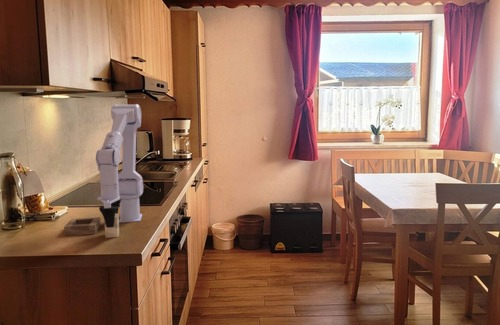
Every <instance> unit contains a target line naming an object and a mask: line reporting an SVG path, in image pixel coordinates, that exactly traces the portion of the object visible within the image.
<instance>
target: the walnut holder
mask: <svg viewBox="0 0 500 325" xmlns="http://www.w3.org/2000/svg"><path fill="white" fill-rule="evenodd" d="M101 223H102V222H101V216H99V217H96V216H95V217H84V218H83V217H81V218H80V217H79V218H71V219H69V220H68V222H67V223H66V224H65V225H64V227H63V228H64V236H78V235H80V236H81V235H93V234H94V235H95V234H97V232H98V231H99V228H100V227H101V225H102V224H101Z"/></svg>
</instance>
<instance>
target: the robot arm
mask: <svg viewBox="0 0 500 325" xmlns="http://www.w3.org/2000/svg"><path fill="white" fill-rule="evenodd" d="M141 109H142V108H141V106H140V105H139V104H138V103H135V104H117V103H116V104H115V103H114V104H113V105H112V106H111V111H110V116H111V119H112V121H113V122H112V125H111V126H112V127H111V130H110V132H107V134H106V135H105V138H104V141H103V144H102V147H101V148H100V149H98V150H97V151H96V154H95V162H96V165H97V170H98V172H99V183H100V184H99V185H100V196H99V197H97V201H101V202H102V203H103V205H101V206H99V207H98V208H99V209H98V210H99V212H100V213H101V215H102V217H103V219H104V220H105V222H104V225H105V224H106V227H107V228H110V227H113V226H114V220H115V214H118V215H119V212H120V215H119V216H120V217H119V224H120V223H133V222H134V223H136V222H141V221H142V216H143V213H141V212H140V211H141V210H140V208H141V207H140V206H141V205H140V197H141V196H142V195H143V193H144V179H143V177H142V175H141V174H139V173H138V172H137V171H136V158H137V156H136V155H137V130H138V128H141V125H142V110H141ZM121 147H122V165H121V166H122V169H121V170H122V171H121V172H119V171H118V170H119V167H118V166H119V165H120V162H121Z"/></svg>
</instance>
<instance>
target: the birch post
mask: <svg viewBox="0 0 500 325" xmlns="http://www.w3.org/2000/svg"><path fill="white" fill-rule="evenodd" d="M119 216H120V215H119V213H118V214H115V220H114V226H113V227H110V228H107V227H106V224H105V220H104V233H105V239H106V238H107V239H109V238H118V237H119V235H120V223H119V219H120V217H119Z"/></svg>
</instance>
